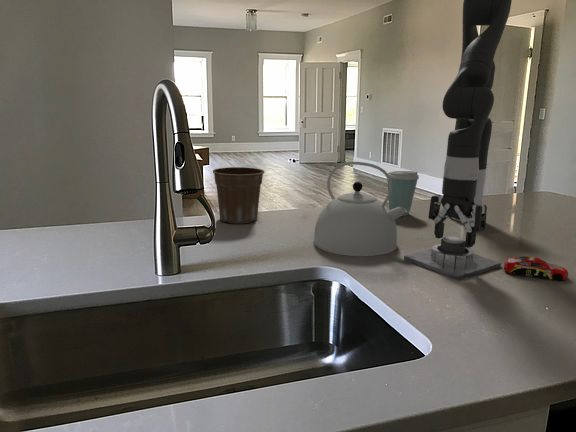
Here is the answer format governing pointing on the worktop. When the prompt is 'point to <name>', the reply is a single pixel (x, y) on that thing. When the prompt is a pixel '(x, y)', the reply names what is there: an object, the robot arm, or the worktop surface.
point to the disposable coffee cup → (402, 189)
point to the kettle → (357, 222)
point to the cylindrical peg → (452, 245)
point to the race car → (534, 268)
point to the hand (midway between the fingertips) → (453, 242)
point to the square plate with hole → (452, 262)
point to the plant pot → (238, 193)
